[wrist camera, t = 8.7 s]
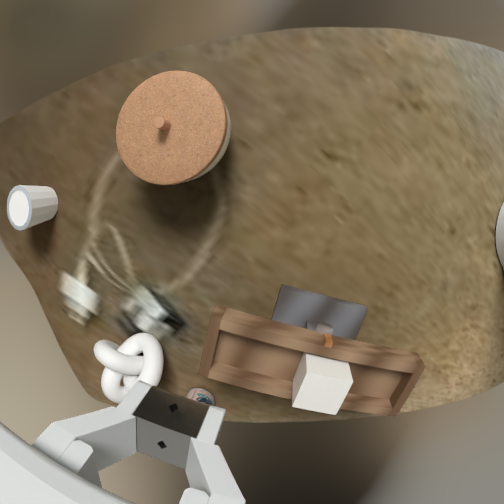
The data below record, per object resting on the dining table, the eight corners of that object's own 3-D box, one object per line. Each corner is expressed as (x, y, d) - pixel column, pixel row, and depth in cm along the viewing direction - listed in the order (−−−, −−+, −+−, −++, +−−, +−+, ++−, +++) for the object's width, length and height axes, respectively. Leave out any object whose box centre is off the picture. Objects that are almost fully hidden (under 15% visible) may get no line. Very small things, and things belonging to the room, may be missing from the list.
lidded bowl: (147, 183, 40) (103, 186, 30) (152, 94, 37) (111, 73, 27) (238, 185, 39) (217, 187, 28) (243, 89, 36) (225, 59, 25)
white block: (346, 356, 33) (353, 381, 28) (331, 388, 34) (335, 414, 29) (305, 347, 33) (306, 372, 29) (292, 380, 35) (292, 406, 30)
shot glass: (34, 183, 43) (6, 185, 36) (61, 182, 42) (31, 185, 35) (34, 222, 44) (6, 229, 38) (60, 224, 44) (32, 232, 37)
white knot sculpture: (178, 391, 48) (160, 425, 39) (117, 377, 49) (92, 405, 40) (174, 333, 45) (150, 364, 36) (107, 321, 46) (77, 346, 38)
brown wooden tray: (406, 316, 40) (433, 352, 30) (374, 382, 43) (389, 427, 33) (232, 270, 41) (214, 299, 31) (215, 345, 44) (195, 386, 34)
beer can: (221, 402, 47) (203, 454, 35) (199, 411, 48) (179, 460, 36) (203, 382, 46) (181, 432, 35) (182, 391, 47) (157, 439, 36)
